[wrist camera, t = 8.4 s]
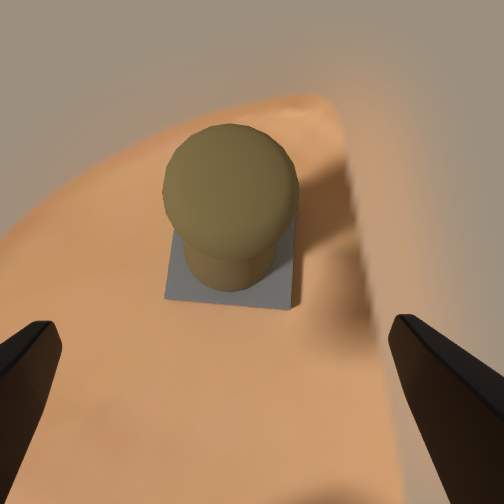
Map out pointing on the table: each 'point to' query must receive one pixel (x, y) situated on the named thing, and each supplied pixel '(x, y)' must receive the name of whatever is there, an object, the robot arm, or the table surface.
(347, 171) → the table surface
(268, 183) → the cork
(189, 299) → the coaster
